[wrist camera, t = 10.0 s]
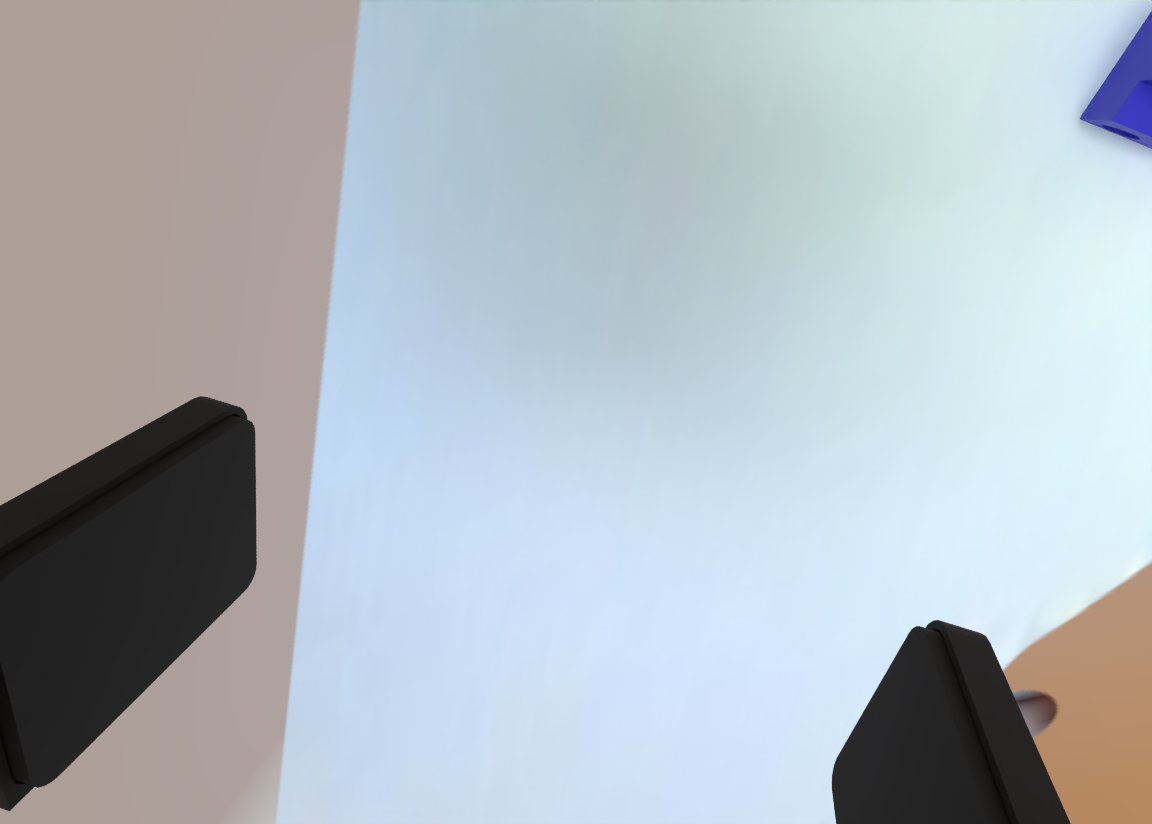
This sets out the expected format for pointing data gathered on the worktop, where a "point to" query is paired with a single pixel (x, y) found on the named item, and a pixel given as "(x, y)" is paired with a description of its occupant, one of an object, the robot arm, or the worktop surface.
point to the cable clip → (1127, 92)
